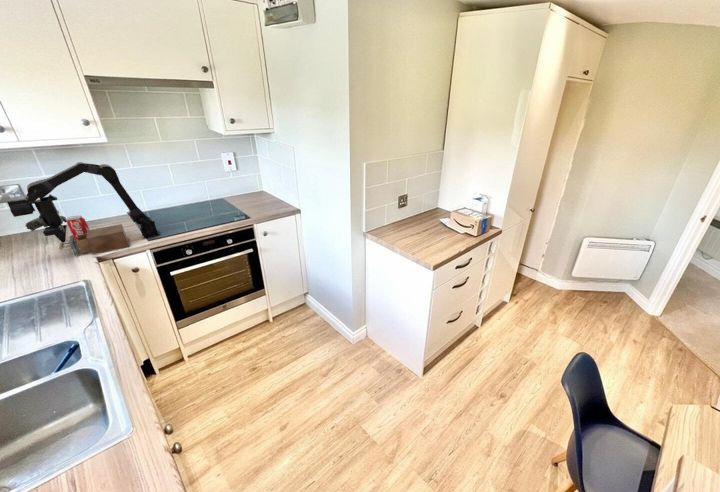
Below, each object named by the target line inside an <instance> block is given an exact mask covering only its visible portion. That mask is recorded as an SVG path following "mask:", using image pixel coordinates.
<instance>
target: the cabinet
mask: <svg viewBox="0 0 720 492" xmlns="http://www.w3.org/2000/svg"><path fill="white" fill-rule="evenodd" d="M86 239H87V241H88V243H89V245H90V247H91V249H92V251H91V252H92V253H93V255H97V254H101V253H106V252H110V251H111V252H112V251H116V250H122V249H124V248H130V243H129V239H128V236H127V233H126V231H125V228H124V226H123V224H122V223H121V224H115V225H109V226H103V227H98V228H92V229H90V230H87V237H86Z"/></svg>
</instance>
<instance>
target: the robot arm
mask: <svg viewBox="0 0 720 492" xmlns="http://www.w3.org/2000/svg"><path fill="white" fill-rule="evenodd" d="M83 173H87V174H92V175H96V176H101V177H102V178H103V179H104V180H105V181H106V182H107V183H108V184H110V186H111V187H112V188H113V190H114V191H115V193H116V194H117V195H118V196H119V198H120V199H121V200H122V202H123V203H124V205H125V206H126V207H127V208H128V212H126V214H127V215H128V216H129V217H130V220H131V221H132V222H133V223H136V224H137V225H139V226H140V228H139V231H140V233H141V235H142V237H143V238H144V239H148V238H152V237H158V236H159V235H160V234H159V232H158V229H157V225H156V221H155V220H154V219H152V218H151V216H148V215H147V214H146V213H144V211H142V210H141V209H140V207H138V206H137V204H136V203H135V202H134V200H133V199H132V197H131V196H130V193H128V192H127V190H126V189H125V188H124V186H123V184H122V183H121V181H120V177H119V175H118V173H117V172H116V169H114V167H112V166H111V165H110V164H107V163H103V164H96V163H86V162H82V161H79V162H76V163H75V164H73V165H72V166H70V167H68V168H66V169H63V170H62V171H60V172H58V173H55V174H53V175H52V176H49V177H47V178H43V179H39V180H36V181H33V182H30V183H28V184H27V185H26V190H27V193H26V195H25V197H24V198H21V199H14V200H13V199H12V200H11V199H10V200H6V203H7V205H8V208H9V210H10V213H11V214H12V216H13V218H17V217H21V216H23V217H24V216H28V215H33V214H34V212H36V210H37V212H38V214H39V216H38V217H37V218H34V219H32V220H29V221H28V222H26V223H25V227H26V229H27V230H29V231H31V232H35V231H36V230H37V229H41V228H42V227H43V228H44V229H43V230H42V233H43V235H44V236H45V237H50V236H55V237H56V238H57V239H58V240H59V241H60V243H66V242H67V241H66V240H67V224H63V223H67V217H66V216H65V215H64V216H63V215H60V211H59V210H58V209H57V208H56V205H55V203H54V201H58V197H57V196H55V195H52V194H50V193H51V192H53V191H54V190H55V189H56V188H58V186H60V185H62V184H64V183H66V182H68V181H70V180H72V179H75V178H76V177H78V176H80V175H81V174H83ZM33 204H34V205H33ZM35 208H36V209H35Z"/></svg>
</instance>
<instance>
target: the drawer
mask: <svg viewBox="0 0 720 492" xmlns="http://www.w3.org/2000/svg"><path fill="white" fill-rule="evenodd" d="M77 237H78V239H79V240H76V239H75V237H74V235H72V234H71V235H69V240H68V242H64V243H62V242H60V243H59V245H58V249H59V251H60V250H63V249H66V248H70V249H71V250H72V251H71V252H72V253H73V255H74V256H75V257H77V256H79V255H80V252H81V254H86V253H91V252H93V251H92V249H91V247H90V245H89V243H88V241H87V239H86V237H87V233H86V234H81V235H77Z"/></svg>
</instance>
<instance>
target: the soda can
mask: <svg viewBox="0 0 720 492" xmlns="http://www.w3.org/2000/svg"><path fill="white" fill-rule="evenodd" d="M66 219H67V222H66V226H67V227H68V229H69V231H70V233H71V235H74V237H75V239H76V241H79V239H78V237H77V235H81V234H86V233H87V230H91V229H90V228H89V225H88V223H87V220H86V219H85V218H84V217H83V216H82V215H72V216H69V217H66Z"/></svg>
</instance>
